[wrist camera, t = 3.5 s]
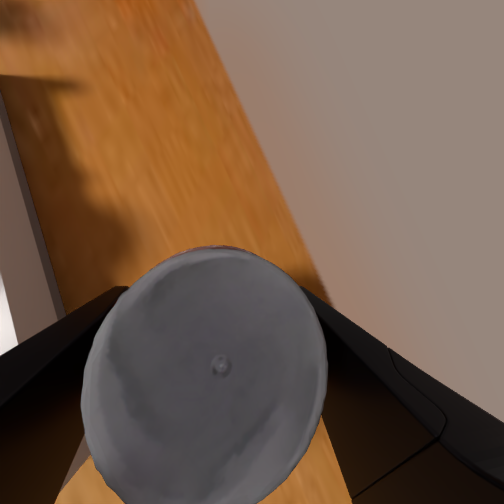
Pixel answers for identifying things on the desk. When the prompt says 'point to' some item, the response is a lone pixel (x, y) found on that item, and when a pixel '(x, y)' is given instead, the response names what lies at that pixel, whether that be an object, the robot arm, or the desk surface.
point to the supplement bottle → (204, 381)
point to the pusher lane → (24, 263)
